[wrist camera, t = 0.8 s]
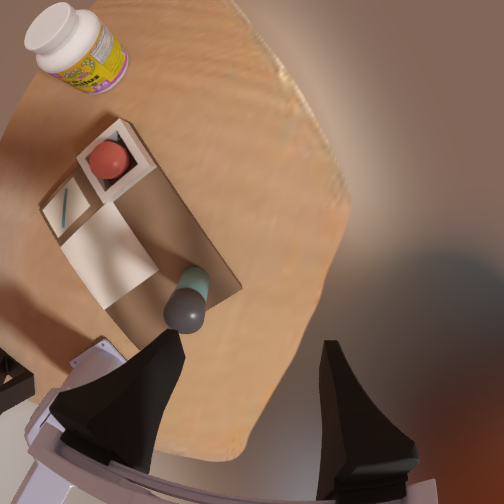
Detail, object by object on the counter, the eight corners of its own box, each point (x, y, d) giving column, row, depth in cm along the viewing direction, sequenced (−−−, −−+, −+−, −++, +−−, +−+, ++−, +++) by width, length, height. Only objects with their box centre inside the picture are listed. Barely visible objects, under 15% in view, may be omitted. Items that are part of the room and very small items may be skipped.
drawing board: (141, 346, 31) (139, 351, 29) (43, 208, 25) (38, 209, 24) (242, 285, 29) (242, 289, 28) (132, 123, 24) (128, 121, 23)
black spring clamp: (2, 367, 31) (-28, 402, 19) (-1, 347, 30) (-36, 382, 18) (35, 393, 32) (8, 434, 21) (34, 374, 31) (2, 417, 20)
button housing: (113, 201, 25) (103, 203, 23) (87, 158, 24) (76, 157, 21) (156, 166, 25) (149, 165, 22) (128, 123, 23) (119, 118, 21)
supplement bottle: (72, 95, 22) (4, 65, 10) (92, 46, 21) (38, 1, 8) (118, 97, 23) (55, 56, 11) (139, 47, 22) (95, -13, 9)
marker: (192, 299, 28) (180, 340, 21) (174, 275, 28) (155, 310, 20) (216, 284, 28) (212, 321, 20) (198, 259, 27) (186, 289, 20)
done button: (110, 185, 23) (100, 186, 21) (94, 159, 22) (83, 158, 20) (136, 163, 23) (128, 162, 21) (119, 137, 22) (110, 133, 20)
